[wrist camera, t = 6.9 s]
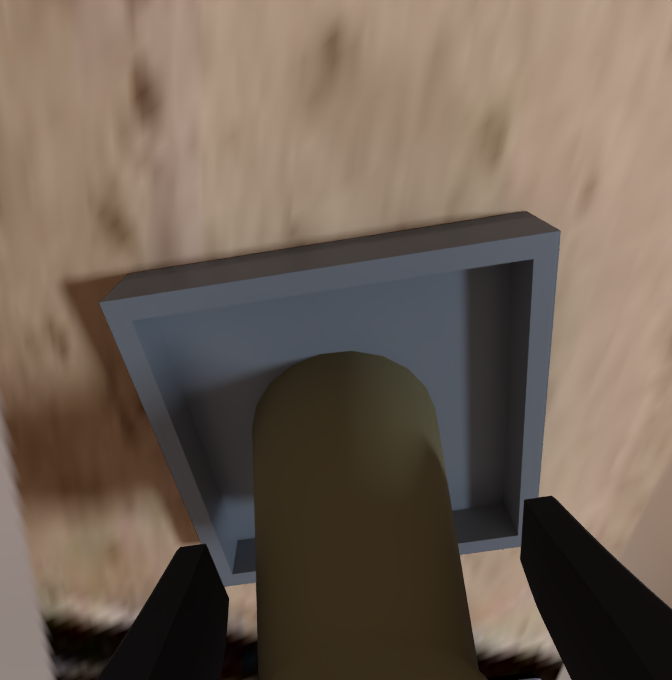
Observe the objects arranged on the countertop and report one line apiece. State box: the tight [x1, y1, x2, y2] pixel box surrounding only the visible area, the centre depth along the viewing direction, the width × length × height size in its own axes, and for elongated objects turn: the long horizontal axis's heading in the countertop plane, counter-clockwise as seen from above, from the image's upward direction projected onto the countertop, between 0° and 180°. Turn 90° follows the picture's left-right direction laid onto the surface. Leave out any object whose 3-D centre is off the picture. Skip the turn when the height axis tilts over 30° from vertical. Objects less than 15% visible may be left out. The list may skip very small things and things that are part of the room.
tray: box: [99, 211, 561, 587], centre depth 15 cm, size 11×11×2 cm
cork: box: [252, 351, 488, 680], centre depth 11 cm, size 6×6×11 cm
